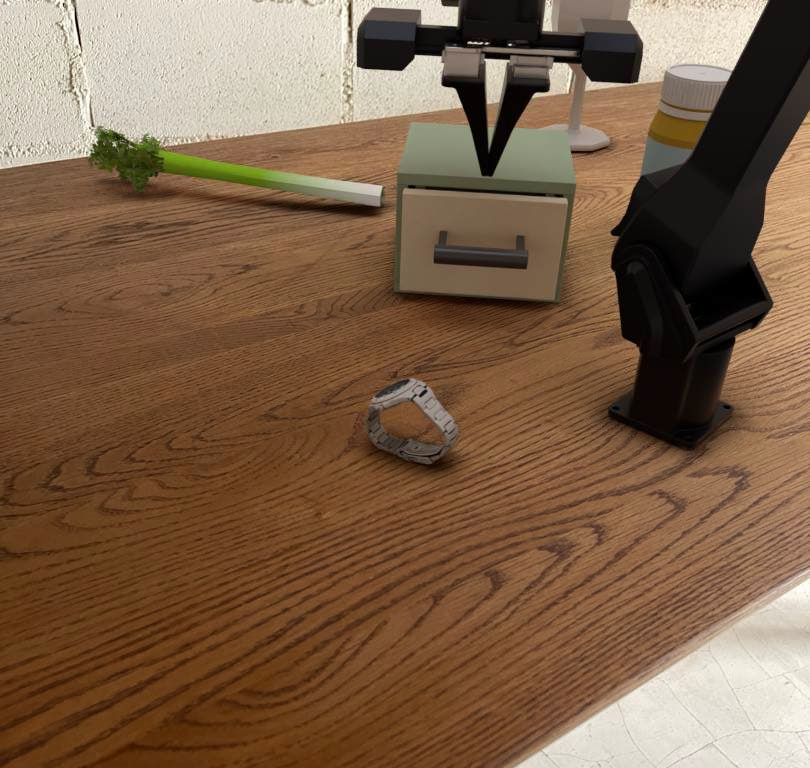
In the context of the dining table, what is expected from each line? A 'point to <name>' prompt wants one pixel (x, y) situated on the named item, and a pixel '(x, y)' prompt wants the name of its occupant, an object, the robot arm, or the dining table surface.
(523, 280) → the drawer
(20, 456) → the dining table surface
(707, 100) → the bottle
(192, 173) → the leek
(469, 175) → the cabinet
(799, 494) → the dining table surface
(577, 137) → the wineglass
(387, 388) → the wristwatch
